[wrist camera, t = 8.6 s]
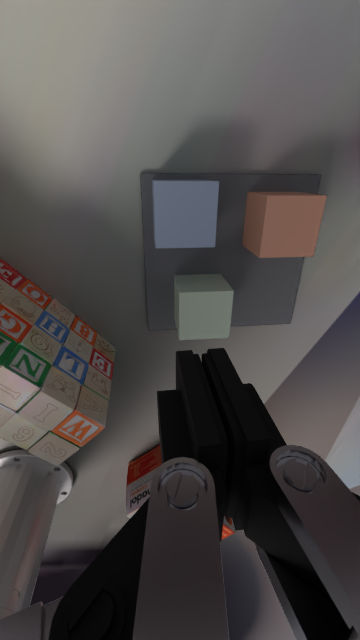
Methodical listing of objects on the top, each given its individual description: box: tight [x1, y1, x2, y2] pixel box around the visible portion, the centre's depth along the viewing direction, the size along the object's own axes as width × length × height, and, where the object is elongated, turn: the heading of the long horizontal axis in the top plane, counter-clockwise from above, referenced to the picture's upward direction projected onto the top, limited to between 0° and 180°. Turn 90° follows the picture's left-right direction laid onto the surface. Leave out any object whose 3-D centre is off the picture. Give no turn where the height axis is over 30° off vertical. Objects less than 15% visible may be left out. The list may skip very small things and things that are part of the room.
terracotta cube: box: [242, 192, 327, 258], centre depth 26 cm, size 5×5×5 cm
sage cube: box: [174, 274, 234, 340], centre depth 29 cm, size 5×5×5 cm
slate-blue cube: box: [152, 180, 219, 248], centre depth 25 cm, size 5×5×5 cm
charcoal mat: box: [140, 173, 321, 330], centre depth 30 cm, size 16×17×1 cm
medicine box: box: [126, 445, 235, 539], centre depth 42 cm, size 15×8×8 cm, turn 37°
